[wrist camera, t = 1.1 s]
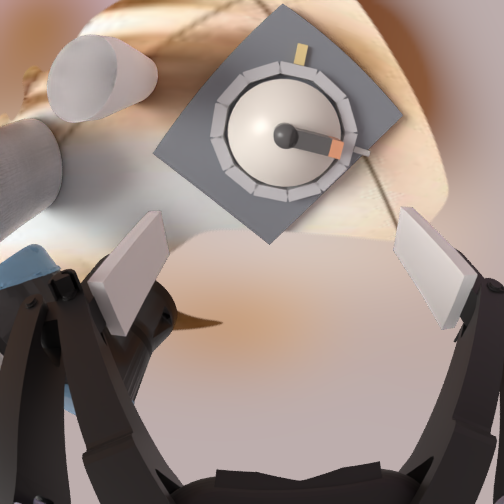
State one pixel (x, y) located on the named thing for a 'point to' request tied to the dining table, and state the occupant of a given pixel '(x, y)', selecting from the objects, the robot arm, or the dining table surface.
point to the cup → (98, 78)
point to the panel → (250, 75)
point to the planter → (27, 172)
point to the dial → (284, 132)
